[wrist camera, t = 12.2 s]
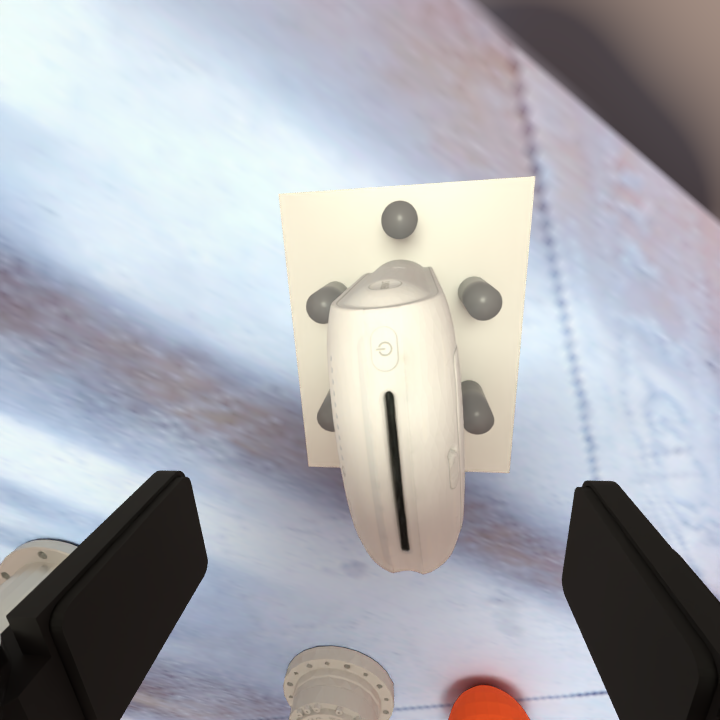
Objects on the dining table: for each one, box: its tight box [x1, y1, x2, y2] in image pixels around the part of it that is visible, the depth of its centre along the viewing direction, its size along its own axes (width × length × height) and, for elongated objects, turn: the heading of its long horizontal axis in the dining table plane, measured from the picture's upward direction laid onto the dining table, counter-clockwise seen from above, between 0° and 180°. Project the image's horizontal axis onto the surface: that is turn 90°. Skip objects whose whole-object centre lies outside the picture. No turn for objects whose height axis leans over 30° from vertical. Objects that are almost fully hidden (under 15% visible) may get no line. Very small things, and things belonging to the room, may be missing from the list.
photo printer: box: [327, 260, 465, 574], centre depth 17 cm, size 10×4×12 cm, turn 7°
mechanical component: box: [283, 646, 394, 720], centre depth 33 cm, size 10×4×10 cm
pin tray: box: [279, 176, 535, 473], centre depth 21 cm, size 17×13×5 cm
